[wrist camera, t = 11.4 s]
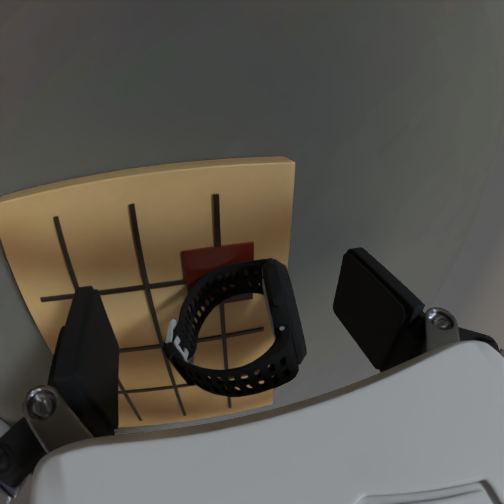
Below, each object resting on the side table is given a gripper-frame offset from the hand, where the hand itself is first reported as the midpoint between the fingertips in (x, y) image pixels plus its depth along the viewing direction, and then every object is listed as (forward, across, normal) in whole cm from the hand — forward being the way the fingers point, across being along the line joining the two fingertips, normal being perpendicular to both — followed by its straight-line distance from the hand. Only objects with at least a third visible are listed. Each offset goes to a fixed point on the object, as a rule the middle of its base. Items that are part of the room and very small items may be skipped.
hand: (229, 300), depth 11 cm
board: (+3, +3, +4) cm, 6 cm away
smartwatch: (+2, 0, 0) cm, 2 cm away
